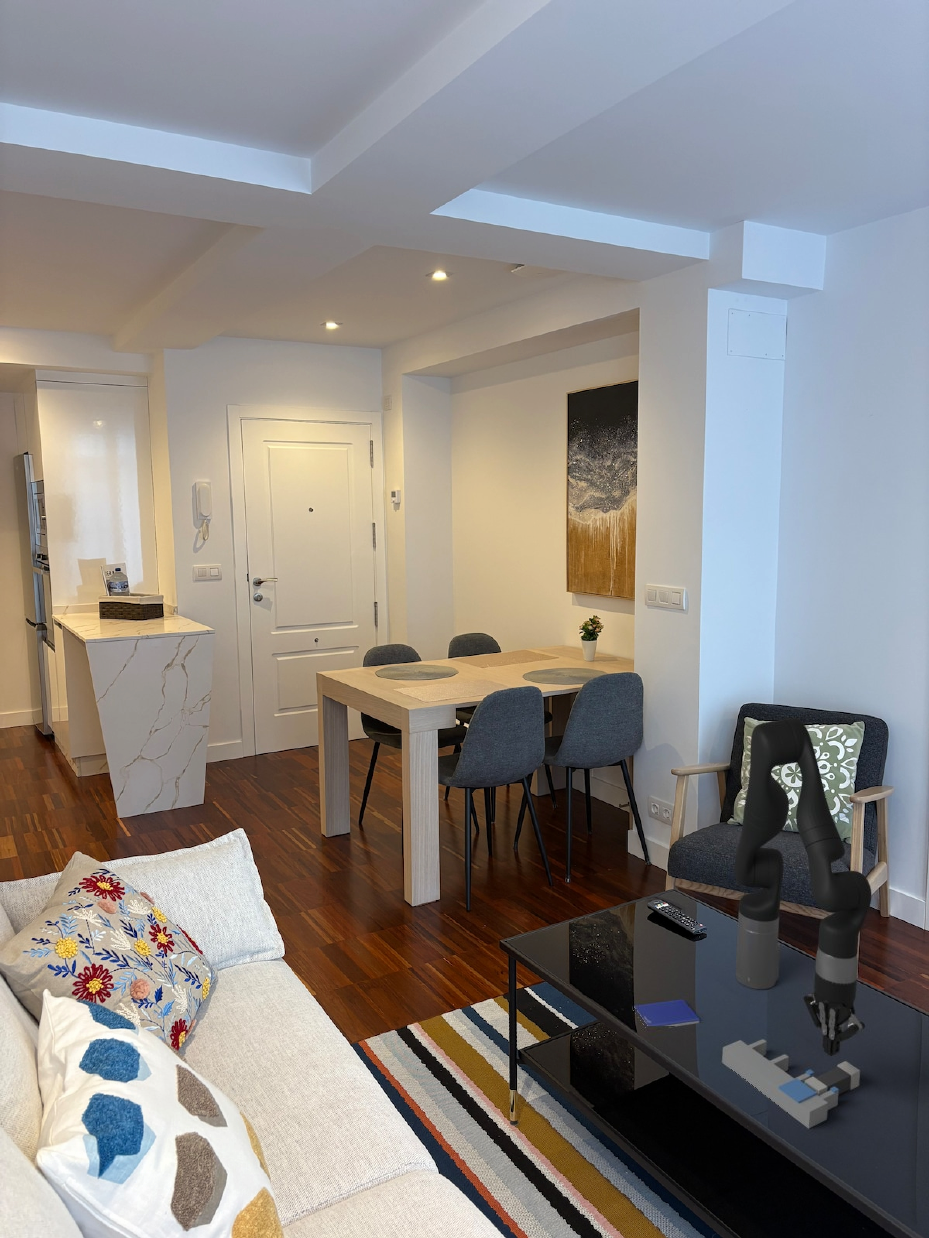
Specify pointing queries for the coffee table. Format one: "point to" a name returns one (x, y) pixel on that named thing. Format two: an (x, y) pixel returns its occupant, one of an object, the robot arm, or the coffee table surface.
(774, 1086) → the pronged holder rack
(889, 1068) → the coffee table surface
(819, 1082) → the dark grey capped bar
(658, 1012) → the hard drive
